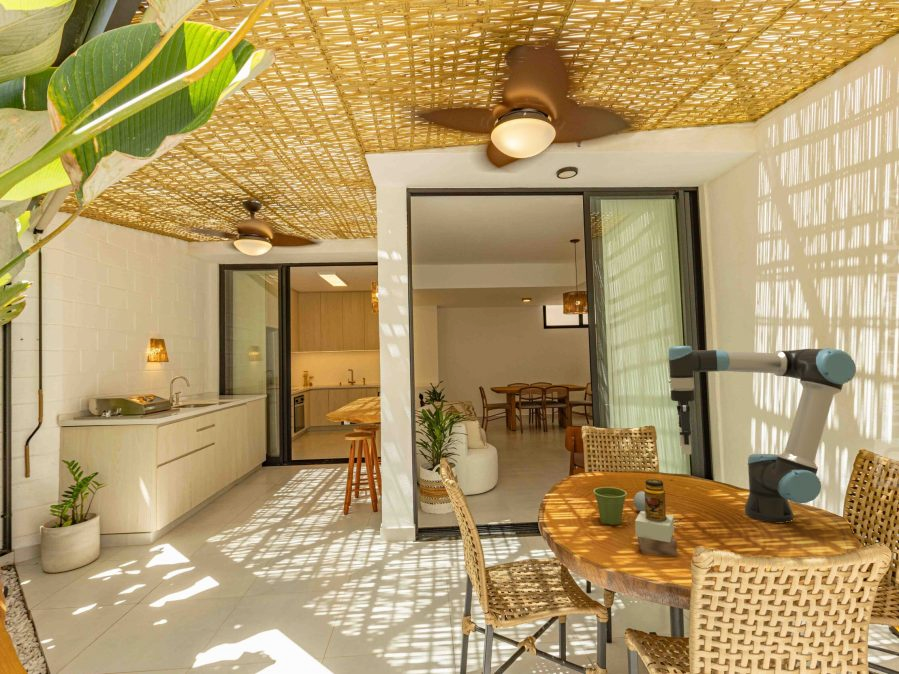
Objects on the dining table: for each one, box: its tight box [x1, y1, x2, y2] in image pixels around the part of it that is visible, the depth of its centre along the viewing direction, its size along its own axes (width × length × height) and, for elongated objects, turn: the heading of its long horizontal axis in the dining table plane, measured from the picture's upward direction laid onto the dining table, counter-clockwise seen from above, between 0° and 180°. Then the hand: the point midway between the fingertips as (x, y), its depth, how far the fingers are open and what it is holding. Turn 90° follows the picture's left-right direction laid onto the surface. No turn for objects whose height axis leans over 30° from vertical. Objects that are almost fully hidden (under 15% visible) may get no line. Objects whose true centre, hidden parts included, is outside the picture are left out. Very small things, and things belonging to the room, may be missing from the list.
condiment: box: [639, 478, 672, 522], centre depth 153 cm, size 7×8×12 cm
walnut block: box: [637, 535, 678, 557], centre depth 152 cm, size 10×10×5 cm
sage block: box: [634, 511, 675, 542], centre depth 152 cm, size 10×10×5 cm
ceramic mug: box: [633, 490, 645, 512], centre depth 184 cm, size 11×8×8 cm
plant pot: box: [592, 486, 628, 526], centre depth 175 cm, size 12×12×11 cm
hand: (685, 449), depth 166 cm, fingers open, 13 cm apart
